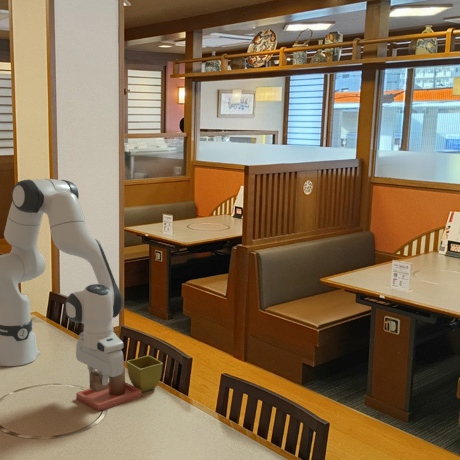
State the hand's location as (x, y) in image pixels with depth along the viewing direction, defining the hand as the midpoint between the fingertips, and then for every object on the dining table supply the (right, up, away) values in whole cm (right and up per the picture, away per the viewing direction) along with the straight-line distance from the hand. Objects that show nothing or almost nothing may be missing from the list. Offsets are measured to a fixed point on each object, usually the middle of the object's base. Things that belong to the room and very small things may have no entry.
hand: (98, 381), depth 188 cm
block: (0, -2, 0) cm, 2 cm away
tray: (+2, -6, +4) cm, 7 cm away
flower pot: (+12, -5, +12) cm, 18 cm away
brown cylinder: (+4, -5, +6) cm, 9 cm away
